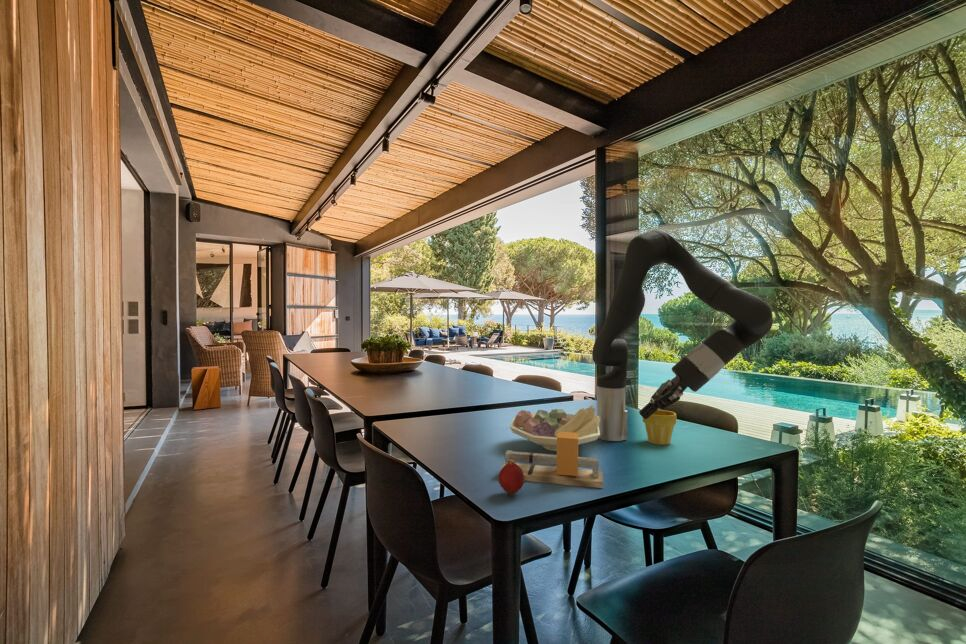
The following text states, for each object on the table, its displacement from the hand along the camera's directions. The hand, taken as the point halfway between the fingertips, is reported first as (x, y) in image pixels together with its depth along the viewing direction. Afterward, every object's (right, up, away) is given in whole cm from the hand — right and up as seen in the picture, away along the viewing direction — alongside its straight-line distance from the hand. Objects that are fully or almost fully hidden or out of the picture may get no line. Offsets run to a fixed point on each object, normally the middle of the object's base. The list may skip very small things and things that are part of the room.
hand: (641, 416), depth 111 cm
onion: (-32, -17, -6) cm, 36 cm away
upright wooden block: (-17, -15, +4) cm, 23 cm away
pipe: (-21, -15, +5) cm, 26 cm away
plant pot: (+19, -17, +39) cm, 47 cm away
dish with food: (-16, -16, +31) cm, 38 cm away
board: (-21, -17, +5) cm, 27 cm away
